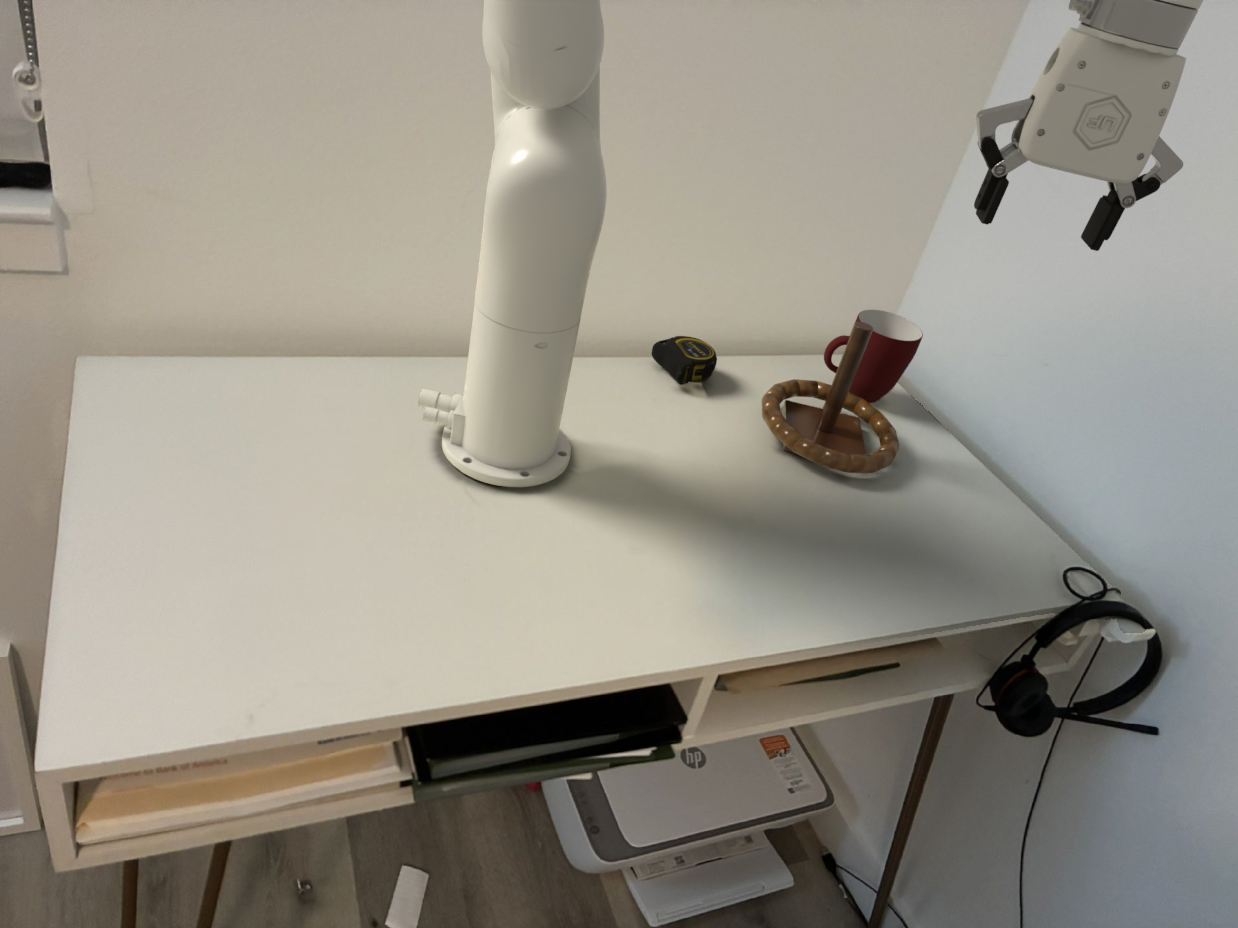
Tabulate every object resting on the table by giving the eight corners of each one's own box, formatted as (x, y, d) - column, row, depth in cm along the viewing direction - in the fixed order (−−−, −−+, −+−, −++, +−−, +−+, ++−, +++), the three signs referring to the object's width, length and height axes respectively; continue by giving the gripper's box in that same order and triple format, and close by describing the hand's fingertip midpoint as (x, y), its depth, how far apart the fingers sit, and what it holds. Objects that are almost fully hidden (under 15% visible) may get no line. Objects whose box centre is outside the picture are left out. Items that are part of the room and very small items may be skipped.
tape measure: (646, 362, 112) (652, 335, 110) (692, 358, 115) (699, 331, 113) (674, 391, 107) (681, 364, 105) (721, 386, 110) (729, 359, 108)
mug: (824, 407, 111) (852, 334, 106) (804, 374, 118) (829, 303, 112) (903, 415, 114) (934, 344, 108) (879, 382, 120) (907, 313, 115)
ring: (760, 453, 97) (766, 438, 96) (758, 377, 110) (764, 363, 109) (903, 492, 98) (911, 477, 97) (884, 412, 111) (891, 398, 110)
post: (783, 450, 101) (825, 334, 93) (781, 410, 109) (820, 299, 101) (862, 469, 101) (911, 354, 93) (855, 427, 109) (900, 318, 101)
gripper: (1039, 3, 68) (947, 223, 77) (1265, 57, 68) (1146, 271, 78) (1015, -9, 74) (933, 196, 84) (1222, 41, 74) (1116, 240, 84)
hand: (1035, 232), depth 81 cm, fingers open, 9 cm apart
